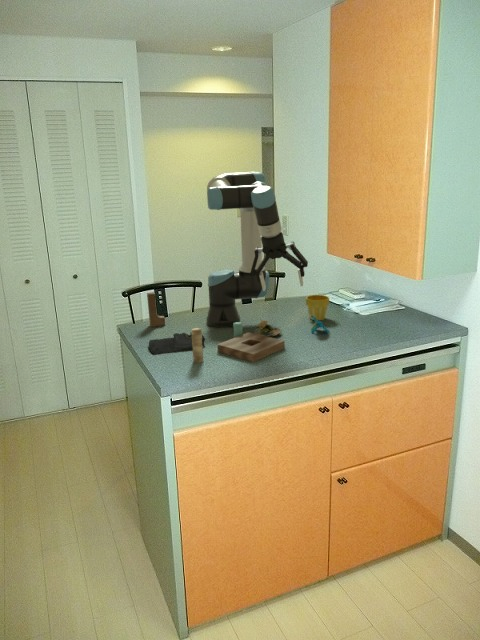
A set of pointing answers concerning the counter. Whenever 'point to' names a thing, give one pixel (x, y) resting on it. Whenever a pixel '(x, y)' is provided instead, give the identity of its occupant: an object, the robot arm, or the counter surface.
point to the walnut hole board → (251, 346)
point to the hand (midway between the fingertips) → (283, 286)
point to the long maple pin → (197, 345)
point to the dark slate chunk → (173, 344)
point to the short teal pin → (238, 329)
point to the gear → (318, 325)
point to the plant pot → (317, 306)
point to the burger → (266, 330)
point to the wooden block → (154, 311)
